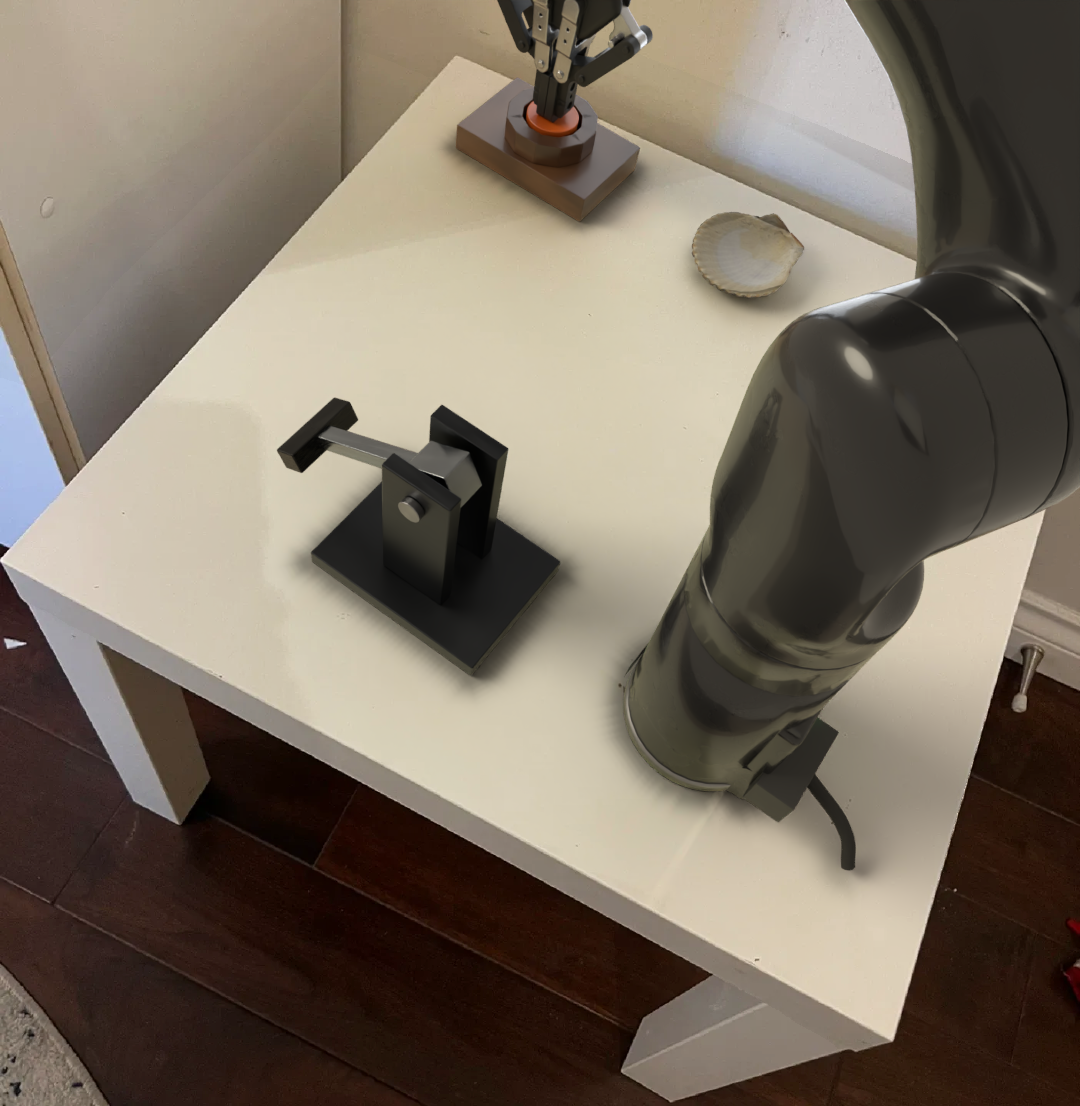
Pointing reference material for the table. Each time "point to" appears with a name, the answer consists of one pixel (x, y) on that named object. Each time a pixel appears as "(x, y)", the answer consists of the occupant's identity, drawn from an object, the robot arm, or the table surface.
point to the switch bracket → (440, 551)
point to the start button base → (547, 151)
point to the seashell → (745, 253)
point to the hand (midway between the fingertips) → (551, 113)
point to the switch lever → (376, 450)
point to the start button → (555, 129)
